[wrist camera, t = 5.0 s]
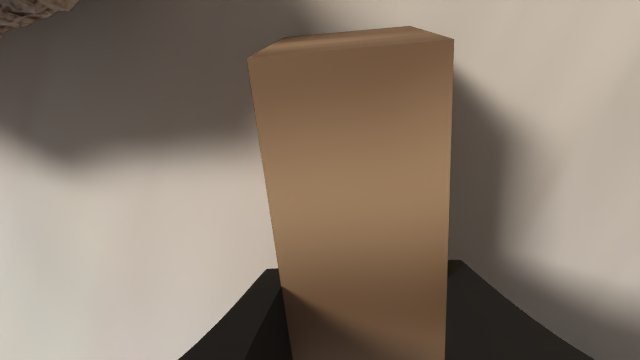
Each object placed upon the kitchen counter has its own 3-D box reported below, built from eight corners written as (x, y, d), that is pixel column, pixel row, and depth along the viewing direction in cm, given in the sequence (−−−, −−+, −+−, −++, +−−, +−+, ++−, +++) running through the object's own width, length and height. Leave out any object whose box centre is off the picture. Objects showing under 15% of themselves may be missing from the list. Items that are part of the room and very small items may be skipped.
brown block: (413, 373, 16) (440, 517, 12) (323, 375, 17) (316, 517, 12) (409, 26, 12) (454, 39, 7) (284, 37, 12) (246, 57, 7)
